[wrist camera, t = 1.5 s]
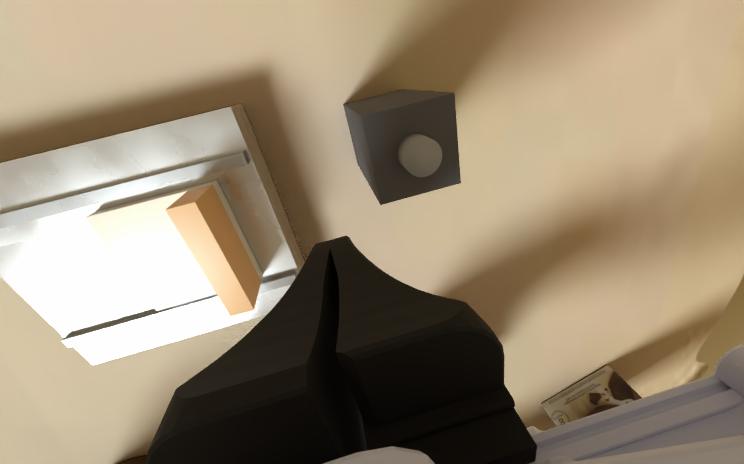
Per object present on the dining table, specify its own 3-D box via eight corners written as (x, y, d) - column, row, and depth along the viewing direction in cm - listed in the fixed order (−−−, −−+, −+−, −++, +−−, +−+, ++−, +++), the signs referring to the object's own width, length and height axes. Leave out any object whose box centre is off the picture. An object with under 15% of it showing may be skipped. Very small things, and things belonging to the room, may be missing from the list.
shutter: (263, 274, 17) (254, 309, 15) (162, 302, 17) (133, 344, 14) (217, 180, 15) (195, 202, 12) (95, 211, 14) (43, 241, 12)
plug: (411, 149, 18) (472, 190, 11) (357, 164, 18) (385, 214, 11) (402, 89, 17) (467, 93, 10) (343, 104, 17) (365, 119, 10)
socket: (311, 278, 21) (311, 306, 19) (117, 333, 21) (88, 370, 18) (242, 103, 16) (228, 107, 13) (-31, 170, 15) (-105, 189, 12)
